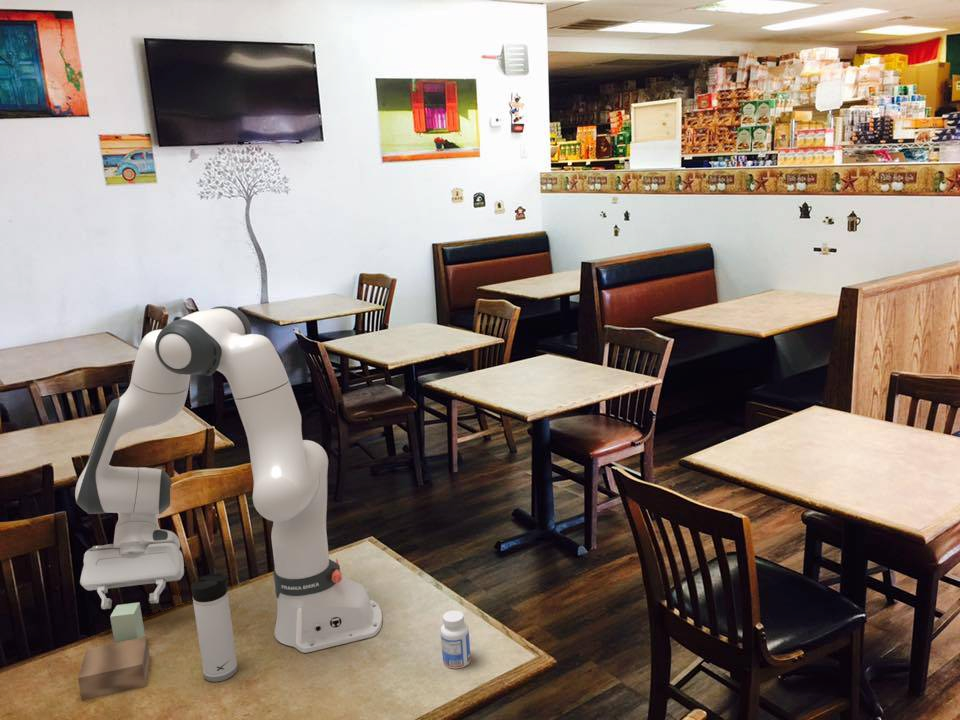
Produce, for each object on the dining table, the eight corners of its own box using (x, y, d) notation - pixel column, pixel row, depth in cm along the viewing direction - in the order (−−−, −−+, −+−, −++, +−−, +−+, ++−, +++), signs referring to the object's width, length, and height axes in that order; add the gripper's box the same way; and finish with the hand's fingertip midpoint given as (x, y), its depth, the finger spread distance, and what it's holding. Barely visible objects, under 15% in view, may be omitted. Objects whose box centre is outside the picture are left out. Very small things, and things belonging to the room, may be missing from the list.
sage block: (145, 641, 162) (139, 602, 160) (140, 653, 158) (133, 613, 156) (123, 644, 162) (116, 605, 160) (116, 656, 157) (110, 616, 155)
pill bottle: (457, 649, 154) (454, 604, 151) (476, 660, 150) (473, 614, 148) (436, 662, 150) (433, 616, 148) (455, 673, 146) (452, 626, 144)
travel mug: (229, 683, 146) (215, 587, 142) (197, 681, 148) (183, 585, 143) (245, 664, 152) (233, 570, 148) (214, 661, 154) (201, 569, 149)
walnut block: (150, 658, 156) (146, 636, 155) (146, 687, 147) (142, 664, 146) (90, 671, 153) (86, 648, 152) (82, 701, 144) (77, 678, 143)
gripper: (80, 541, 164) (71, 607, 157) (180, 531, 167) (176, 595, 160) (90, 551, 170) (82, 615, 162) (187, 541, 173) (183, 603, 165)
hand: (129, 605), depth 161 cm, fingers open, 8 cm apart
